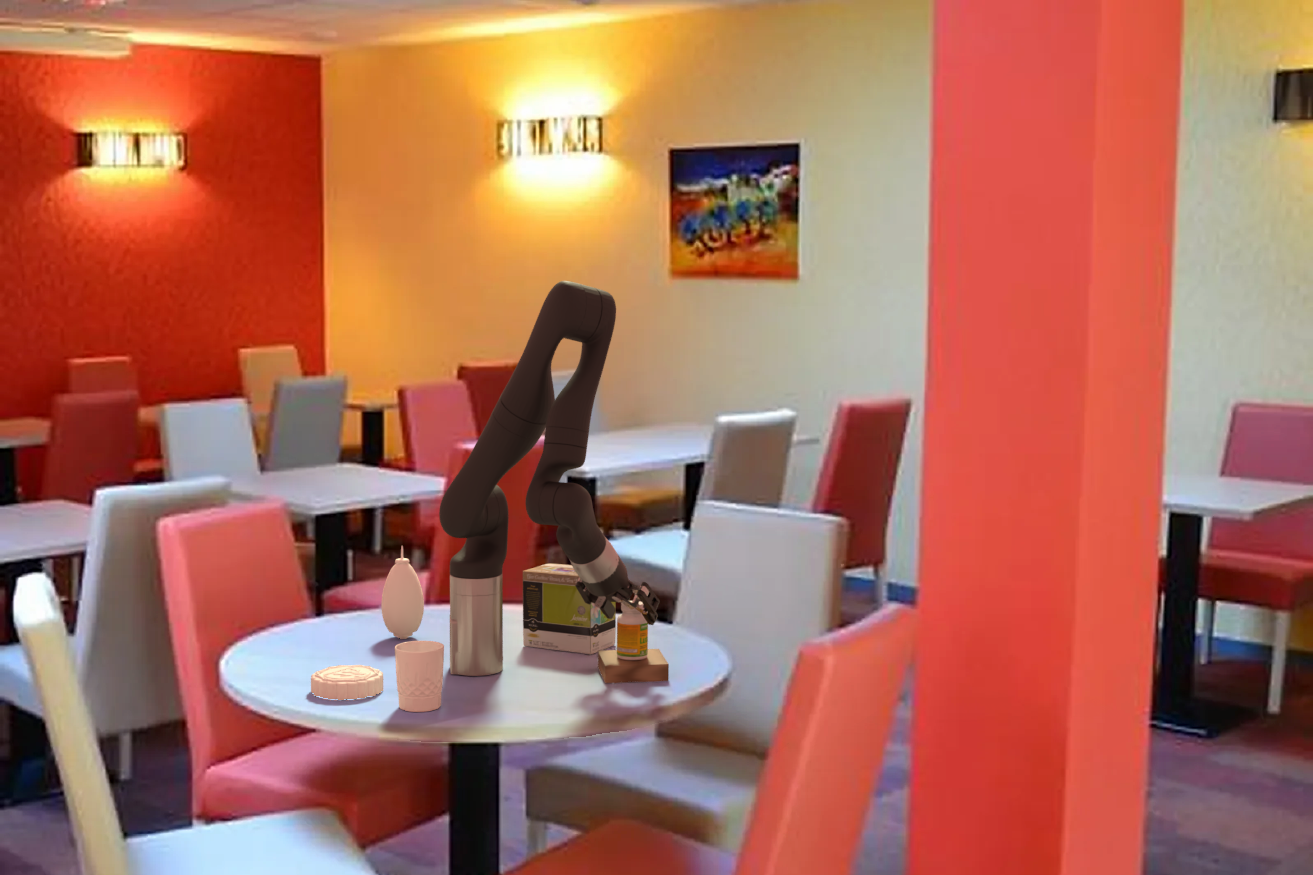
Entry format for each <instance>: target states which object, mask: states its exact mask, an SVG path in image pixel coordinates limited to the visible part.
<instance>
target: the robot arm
mask: <svg viewBox="0 0 1313 875" xmlns="http://www.w3.org/2000/svg"><path fill="white" fill-rule="evenodd" d="M616 317H617V306H616V300H615V298H614V296H613V295H612V294H611V293H610V292H609V291H606V290H603V289H600V288H597V287H593V286H590V285H585V284H582V283H579V282H574V281H569V280H561V281H560V280H559V282H557V283H556V284H555V285H553V286H552V288H551V289H550V290H549V292H548V293H547V295H546V297H545V300H544V301H543V304H542V305H541V307H540V310H539V313H538V315H537V318H536V320H535V323H534V325H533V328H532V330H531V333H530V335H529V338H528V340H527V342H526V345H525V346H524V347H525V348H524V350H523V352H522V355H521V356H520V358H519V360H518V362H517V364H516V367H515V369H514V370H513V372H512V374H511V376H510V378H509V380H508V382H507V384H506V385H505V387H504V389H503V390H502V392H501V394H500V396H499V398H498V400H497V402H496V404H495V406H494V408H493V409H492V412H491V414H490V416H489V418H488V420H487V422H486V425H485V426H484V428H483V430H482V432H481V433H480V436H479V437H478V439H477V441H476V443H475V445H474V447H473V448H472V450H471V451H470V454H469V456H468V457H467V459H466V460H465V463H464V464H463V465H462V467H461V468H460V469H459V472H457V474H456V475H455V477H454V479H453V480H452V481H451V483H450V485H449V486H448V488H447V490H446V491H445V493H444V494H443V496H442V499H441V502H440V505H439V512H438V516H439V523H440V525H441V526H440V527H441V528H442V530H443V531H444V533H446V534H447V535H448V536H449V537H452V538H455V539H465V543H464V545H463V546H462V548H461V549H460V550H459V551H458V552H457V553H455V554H454V555H453V556H452V557H451V559H450V561H449V669H450V674H451V675H461V676H469V677H470V676H471V677H473V676H474V677H476V676H478V677H479V676H488V675H489V676H490V675H494V674H497V673H500V672H502V671H503V669H504V666H503V664H504V662H503V661H504V651H503V648H504V646H503V644H504V643H503V642H504V641H503V638H504V637H503V636H504V634H503V631H504V629H503V627H504V626H503V624H504V623H503V621H504V619H503V614H504V613H503V609H504V608H503V606H504V605H503V604H504V603H503V600H504V599H503V597H504V596H503V587H504V586H503V566H504V563H505V560H506V559H507V558H506V557H507V553H508V540H509V539H508V536H509V535H508V534H509V518H510V517H509V516H510V515H509V504H508V500H507V497H506V494H505V492H504V491H503V489H502V488H501V487H500V486H499V485H498V483H499V482H500V481H501V479H502V478H503V477H504V476H505V475H506V474H507V473H508V472H509V471H510V470H511V469H512V468H514V467H515V466H516V465H517V464H518V463H519V462H520V461H521V460H522V459H523V458H524V457H525V456H527V455H528V454H529V452H530V451H531V450H532V449H534V447H535V446H536V445H537V443H538V442H539V441H540V438H541V437H542V436H543V433H544V432H545V433H544V439H543V440H544V441H543V447H542V453H541V455H540V457H539V461H538V463H537V466H536V468H535V471H534V474H533V476H532V478H531V480H530V483H529V485H528V488H527V491H526V495H525V501H524V502H525V510H526V514H527V515H528V517H529V518H528V519H530V520H531V521H532V522H533V523H535V524H538V525H544V526H546V525H548V526H557V530H556V539H557V540H556V541H557V543H558V545H559V546H560V547H561V549H562V551H563V552H564V554H565V555H566V557H567V558H568V560H569V561H570V565H572V566H573V568H574V570H575V571H576V573H577V574H578V576H579V579H578V581H577V583H576V585H575V587H576V588H577V590H578V592H579V593H580V595H581V597H582V598H583V600H584V602H585V603H587V604H591V603H594V605H595V606H596V607H598V608H600V610H601V611H602V612H603V614H604V615H605V616H606V617H607V618H608V619H612V618H613V616H614V614H615V611H616V609H615V607H614V606H613V604H612V603H611V602H616V603H619V604H621V603H622V604H624V605H625V606H627V607H628V608H630V609H636V610H638V611H639V612H641V613H642V615H643V617H644V618H645V620H646V621H647V623H648V626H654V625H655V623H656V622H657V619H658V617H659V615H658V613H657V609H658V607H659V604H660V602H661V600H660V598H659V597H658V596H657V595H656V594H655V591H654V590H653V589H652V588H651V586H650V585H649V583H648V582H645V581H642V582H641V583H640V585H638V584H636V585H635V583H633V582H632V581H631V579H629V577H628V570H627V567H626V565H625V564H624V561H623V560H622V559H621V557H620V555H619V554H618V553H617V551H616V549H615V548H614V547H613V546H614V545H613V544H612V543H611V541H609V540H608V538H607V537H606V536H605V535H604V533H603V531H602V530H601V529H600V527H599V525H598V524H597V519H596V516H595V512H594V511H595V510H594V508H593V501H592V496H591V495H590V493H589V491H588V490H587V489H586V488H585V487H583V486H582V485H580V484H578V483H574V482H563V481H562V482H561V478H562V476H564V474H565V472H568V471H571V470H576V469H579V468H581V467H583V465H584V464H585V461H586V457H587V452H588V450H587V449H588V444H589V442H588V441H589V437H590V436H589V433H590V426H591V419H592V418H591V417H592V412H593V407H594V402H595V398H596V395H597V391H598V388H599V385H600V382H601V378H602V374H603V371H604V367H605V364H606V360H607V356H608V353H609V349H610V345H611V341H612V338H613V335H614V334H613V332H614V330H615V324H616ZM564 339H566V340H570V341H575V342H579V343H581V353H580V358H579V361H578V364H577V366H576V369H575V371H574V372H573V374H572V376H571V377H570V379H569V380H568V382H567V383H566V384H565V386H564V387H563V388H562V390H561V391H560V392H559V394H558V395H557V396H556V398H555V389H554V382H553V376H552V362H553V359H554V356H555V354H556V351H557V349H558V347H559V344H560V343H561V341H562V340H564ZM633 594H634V597H633V599H632V600H630V599H631V598H632V595H633ZM630 601H632V603H631V602H630ZM639 601H640V602H642V603H643V604H644V605H643V607H642V606H640V605H639Z"/></svg>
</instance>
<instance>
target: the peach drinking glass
mask: <svg viewBox="0 0 1313 875" xmlns="http://www.w3.org/2000/svg"><path fill="white" fill-rule="evenodd" d="M444 655H445V645H444V644H443V643H442V642H438V641H433V640H432V641H431V640H412V641H411V640H410V641H404V642H401V643H398V644H396V645H395V646H394V656H395V657H394V658H395V674H396V688H397V689H396V690H397V693H398V695H397V696H398V707H399V709H400V710H402V711H404V710H405V711H406V712H409V713H410V712H411V713H413V712H414V713H423V712H424V713H425V712H431V711H435V710H438V709H439V708H441V707H442V689H443V681H444V679H443V678H444V662H445V661H444V658H445V656H444Z"/></svg>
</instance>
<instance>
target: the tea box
mask: <svg viewBox="0 0 1313 875" xmlns="http://www.w3.org/2000/svg"><path fill="white" fill-rule="evenodd" d="M578 579H579V576H578V574H577V573H576V571H575V570H574V568H573V566H572V564H561V563H551V562H550V563H549V562H548V563H545V564H542V565H537V566H535V567H533V568H528V569H525V570H522V619H523V620H522V631H523V632H522V636H523V640H522V641H523V646H524V647H531V648H539V649H547V650H554V651H562V652H563V651H564V652H568V653H569V652H571V653H578V654H585V655H593V654H596V653H598V651H601V650H606V649H608V648H610V647H613V646H615V645H616V635H617V621H616V618H617V615H616V613H617V612H616V611H615V614H614V616H613V618H612V619H608V618H607V617H606V616H605V615H604V614H603V612H602V611H601V610H600V608H598V607H596V606H595V605H594V603H591V604H587V603H585V602H584V600H583V598H582V597H581V595H580V593H579V592H578V590H577V588H576V587H575V585H576V583H577V581H578ZM611 603H612V604H613V606H614V607H615V609H616V603H617V602H611Z"/></svg>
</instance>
